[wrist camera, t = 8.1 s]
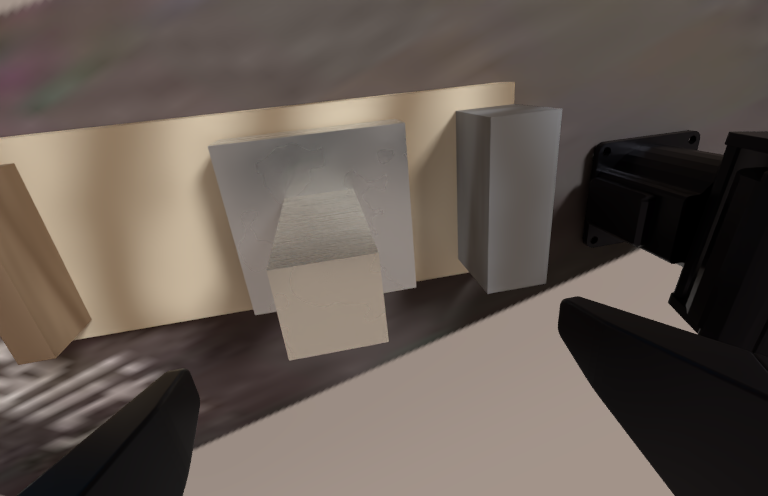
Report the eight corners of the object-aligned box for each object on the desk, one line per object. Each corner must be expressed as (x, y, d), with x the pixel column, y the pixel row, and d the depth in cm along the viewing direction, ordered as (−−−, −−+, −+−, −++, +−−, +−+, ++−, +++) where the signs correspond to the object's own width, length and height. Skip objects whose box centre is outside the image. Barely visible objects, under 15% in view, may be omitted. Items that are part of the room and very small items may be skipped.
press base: (500, 82, 20) (564, 81, 15) (495, 255, 24) (544, 300, 19) (-11, 138, 17) (-146, 161, 12) (84, 324, 21) (13, 399, 16)
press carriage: (395, 118, 18) (466, 147, 10) (407, 269, 21) (467, 387, 13) (218, 139, 17) (130, 191, 9) (260, 294, 20) (224, 438, 12)
